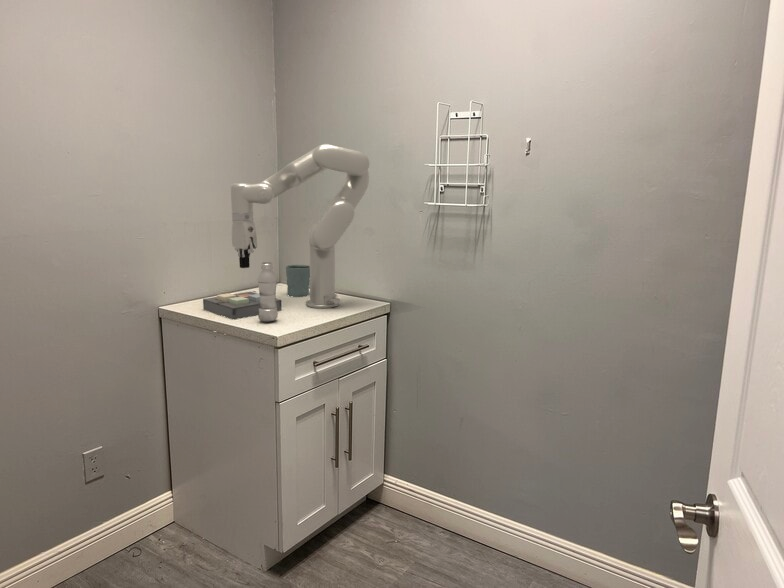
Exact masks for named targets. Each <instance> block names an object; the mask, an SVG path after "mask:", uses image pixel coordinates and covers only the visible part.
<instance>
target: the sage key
mask: <svg viewBox="0 0 784 588" xmlns="http://www.w3.org/2000/svg"><path fill="white" fill-rule="evenodd" d="M229 303H230V304H233V305H242V304H247V303H249V299H248V298H244V297H235V298H229Z"/></svg>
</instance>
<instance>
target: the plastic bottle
mask: <svg viewBox="0 0 784 588" xmlns="http://www.w3.org/2000/svg"><path fill="white" fill-rule="evenodd" d="M260 269H261V270H260V272H259V274H258V276H257V279H256V280H257V286H258V287H257V288H258V292H259V293H258V294H260V301H259V310H258V315H257V317H258V319H259V321H260V322H264V323H271V322H275V321H277V318H278V315H279V314H278V313H279V311H277V307H276V299H277V295H276V293H277V285H278V284H277V283H278V277H277V275H276V273H275V271H274V270H273V269H274V267H273V262H271V261H269V262H268V261H267V262H264V261H263V262H261V266H260Z"/></svg>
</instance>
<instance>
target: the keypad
mask: <svg viewBox="0 0 784 588" xmlns="http://www.w3.org/2000/svg"><path fill="white" fill-rule="evenodd" d="M232 294H233V295H241V294H251V295H254V294H258V293H256V292H254V291H246V292H240V293H239V292H238V293H232ZM202 305H203V307H202V308H203V311H206V312H209V313H213V314H215V315H219V316H221V315H222V316H221V317H224V316H225V318H227V317H228V318H227V319H230V318H232V319H231V320H233V319H234V320H238V319H237V318H240V319H244V318H243V317H245V318H249V317H248V316H250V317H254V315H255V316H258V310H259V302H254V301H250V300H249V303H247V304H242V305H233V304H230V303H229V301H225V302H223V301H220V300H217V296H214V297H208V298H203V299H202ZM276 307H277V311H278V312H281V311H282V310H283V309H282V307H283V306H282V299H281V298H276Z"/></svg>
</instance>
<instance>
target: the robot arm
mask: <svg viewBox="0 0 784 588" xmlns="http://www.w3.org/2000/svg"><path fill="white" fill-rule="evenodd" d="M369 167H370V160H369V157H368V156H367V155H366V154H365V153H364V152H362V151H360V150H355V149H351V148H348V147H347V148H346V147H341V146H339V145H338V146H337V145H334V144H331V143H322V144H320V145H318V146H316V147H315V148H312V149H311V150H308V152H306V153H304V154H303V155H302V156H300V157H298V158H296V159H294V160H293V161H290V162H289V163H288V164H287V165H285V166H284V167H283V168H281V169H280V170H278V171H277V172H276V173H274V174H272V175H271V176H269V177H267V178H266V179H264V180H262V181H260V182H258V183H248V182H234V183H232V184H231V185H230V203H231V221H232V223H231V245H232V247H233V248H234V250H235V251H236V252H237V256H238V258H239V261H238V262H239V268H241V269H248V268H250V267H251V266H250V257H251V254H253V253H254V249H255V250H256V249H257V248H258V241H257V239H258V238H257V230H256V223H255V222H254V204H259V205H260V204H261V205H266V204H269V203H270V202H272V200H273V199H275V198H277V197H279V196H280V195H282V194H283V193H284V194H285V192H287V191H289V190H290V189H293V188H295V187H298V186H300V185H303V184H305V183H306V182H308V181H309V180H311V179H312V178H314V177H316V176H317V175H319V174H321V173H322V172H324V171H327V170H328V169H329V170H332V171H336V172H340V173H345V174H346V178H345V181H344V183H343V185H342V186H341V187H340V190H339V191H337V193H336V195H335V196H334V197H333V199H332V200H331V201H330V202H329V203H328V205H327V206H326V211H325V213H324V214H323V216H322V217H321V219H320V220H319V221H318V222H315V223H314V224H313V225H311V227H310V229H309V232H308V245H309V247H308V248H309V250H308V251H309V266H310V278H309V280H310V281H309V299H308V300H306V302H305V305H306V306H307V307H310V308H315V309H316V308H317V309H328V308H329V309H331V308H336V307H338V306H339V305H340V302H341V299H340V298H339V297H337V293H336V247H335V246H336V245H337V243H338V242H339V240H340V239H341V238H342V236H343V235H344V234H345V233H346V231H347V230H348V228H349V226H350V225H351V223H353V220H354V218H355V209H356V208H357V207H358V205H359V203H360V202H361V200H362V199H363V197H364V195H365V194H366V192H367V190H368V187H369V183H370V176H369Z"/></svg>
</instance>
